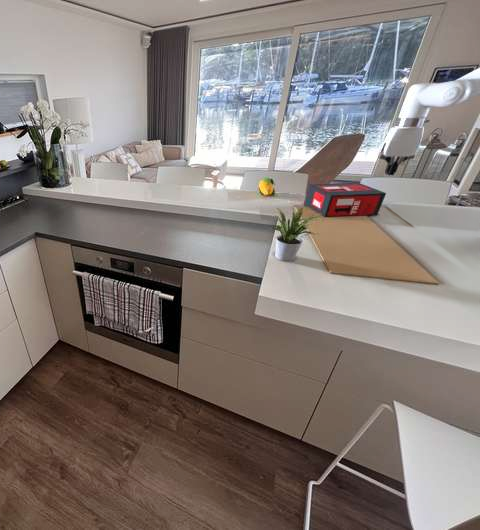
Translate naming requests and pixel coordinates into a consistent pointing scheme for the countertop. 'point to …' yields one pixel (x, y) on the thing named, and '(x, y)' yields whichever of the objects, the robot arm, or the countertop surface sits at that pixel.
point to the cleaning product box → (344, 199)
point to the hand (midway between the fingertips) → (389, 174)
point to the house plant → (291, 235)
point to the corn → (267, 187)
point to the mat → (361, 249)
